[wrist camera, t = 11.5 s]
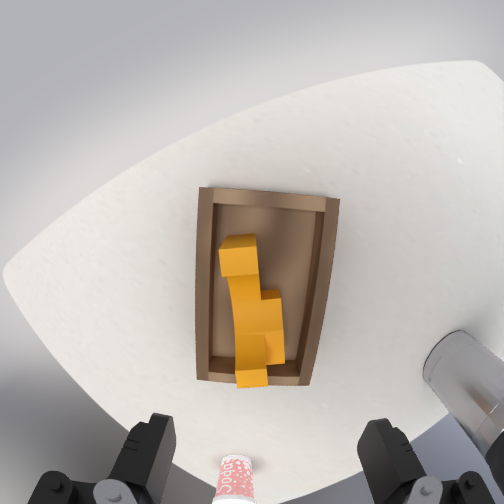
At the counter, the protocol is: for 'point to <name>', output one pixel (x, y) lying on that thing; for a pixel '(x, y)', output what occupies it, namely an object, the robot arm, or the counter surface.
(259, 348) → the pipe clamp
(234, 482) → the beverage cup
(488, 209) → the counter surface
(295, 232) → the wooden tray
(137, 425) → the robot arm
